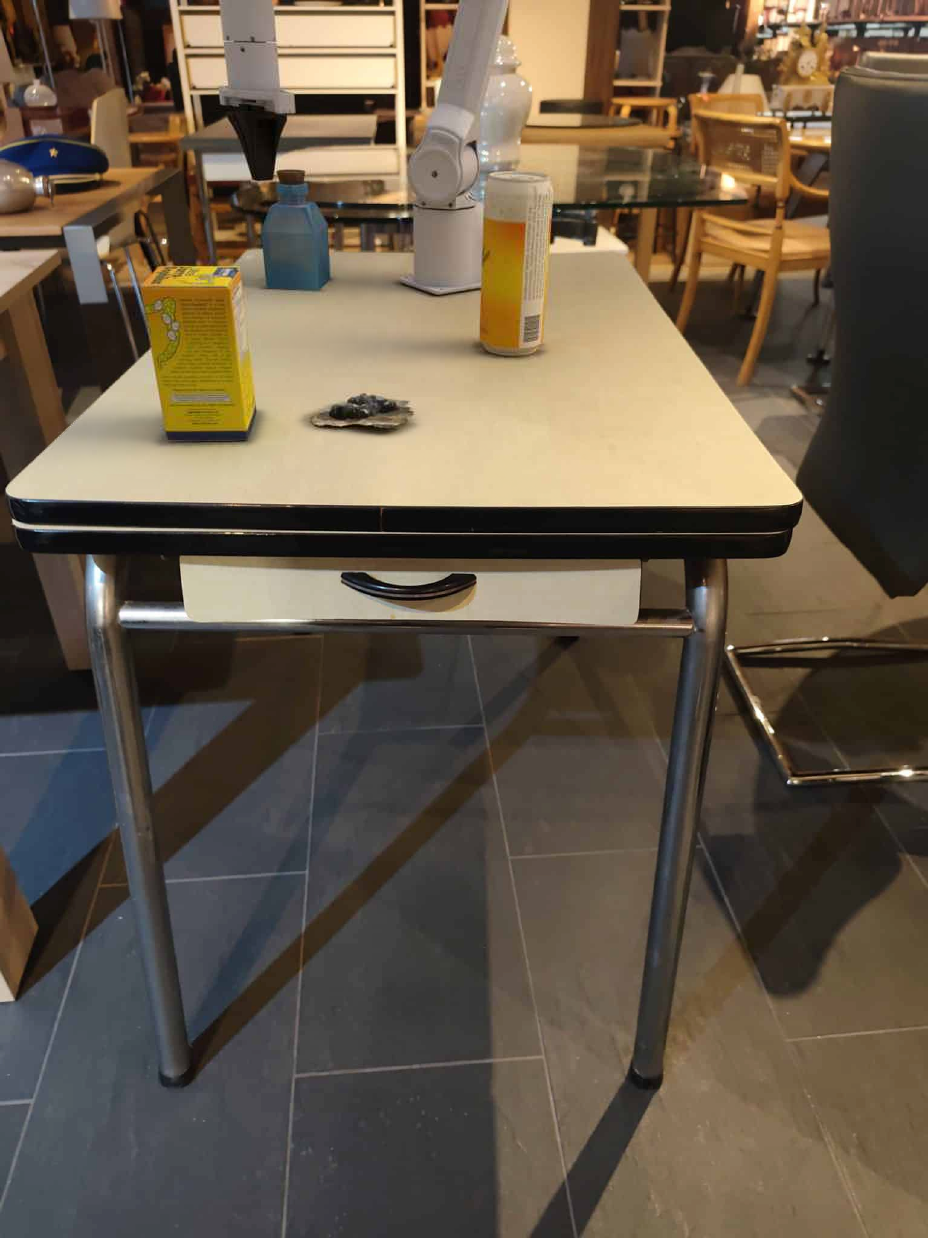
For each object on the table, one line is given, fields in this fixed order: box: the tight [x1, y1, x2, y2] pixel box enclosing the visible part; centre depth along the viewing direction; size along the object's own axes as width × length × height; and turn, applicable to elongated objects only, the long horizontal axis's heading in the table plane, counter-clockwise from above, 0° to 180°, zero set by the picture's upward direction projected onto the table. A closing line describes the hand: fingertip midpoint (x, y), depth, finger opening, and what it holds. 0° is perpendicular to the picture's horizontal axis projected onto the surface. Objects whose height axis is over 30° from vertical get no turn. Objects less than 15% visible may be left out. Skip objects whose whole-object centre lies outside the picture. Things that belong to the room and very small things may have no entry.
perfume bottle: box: [260, 168, 332, 292], centre depth 102 cm, size 6×6×12 cm
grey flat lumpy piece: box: [309, 392, 415, 429], centre depth 68 cm, size 7×8×2 cm
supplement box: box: [139, 265, 257, 443], centre depth 63 cm, size 6×6×11 cm
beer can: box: [478, 170, 554, 357], centre depth 81 cm, size 6×6×15 cm
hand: (262, 179), depth 104 cm, fingers closed
